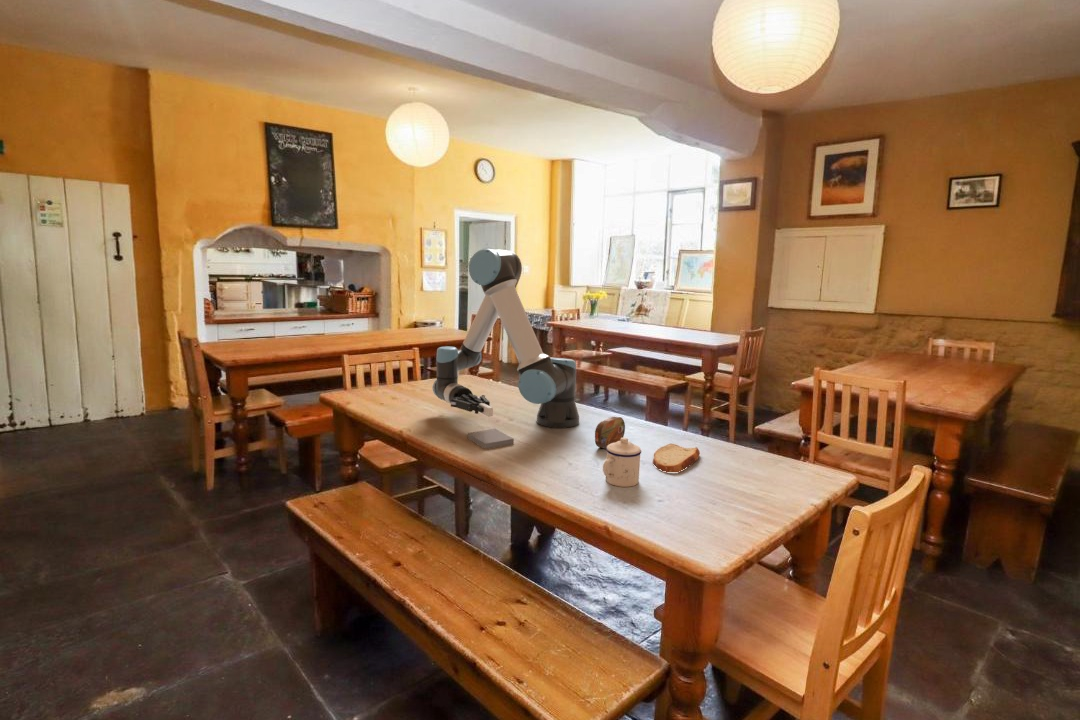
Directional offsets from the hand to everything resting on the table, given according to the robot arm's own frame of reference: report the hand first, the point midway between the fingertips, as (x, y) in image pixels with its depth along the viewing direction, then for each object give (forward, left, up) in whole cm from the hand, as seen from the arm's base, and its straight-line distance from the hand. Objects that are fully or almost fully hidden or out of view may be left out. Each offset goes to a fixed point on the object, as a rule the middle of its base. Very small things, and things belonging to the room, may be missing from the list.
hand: (490, 412), depth 175 cm
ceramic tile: (+4, -4, -9) cm, 11 cm away
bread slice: (-57, +2, -10) cm, 58 cm away
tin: (-37, -7, -10) cm, 39 cm away
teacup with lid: (-42, +23, -10) cm, 48 cm away
